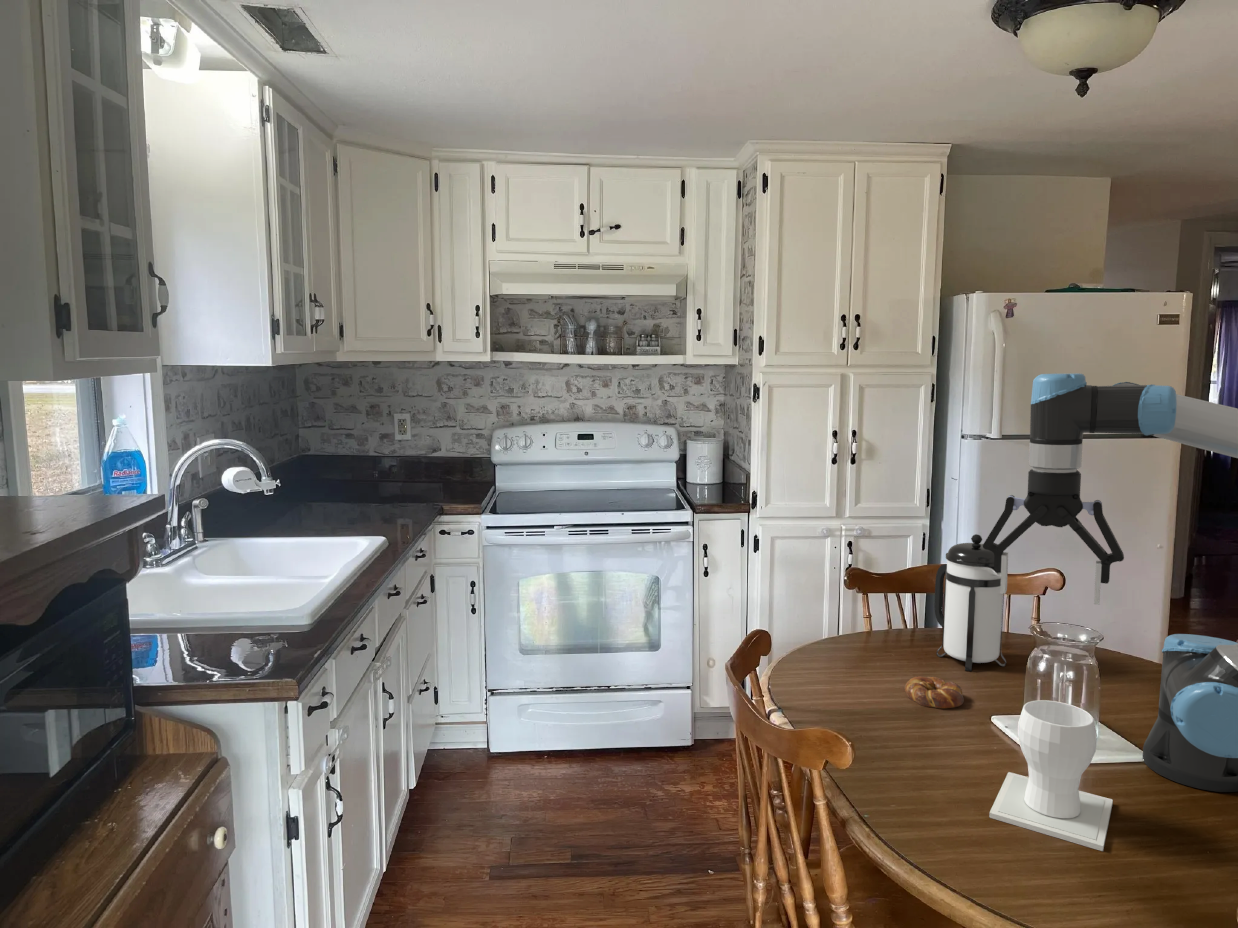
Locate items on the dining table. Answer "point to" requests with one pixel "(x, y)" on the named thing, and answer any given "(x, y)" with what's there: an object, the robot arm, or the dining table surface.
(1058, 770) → the cup
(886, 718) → the dining table surface
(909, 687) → the brown braided bread ring
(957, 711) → the dining table surface
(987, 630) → the coffee press
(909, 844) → the dining table surface
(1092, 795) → the coaster
